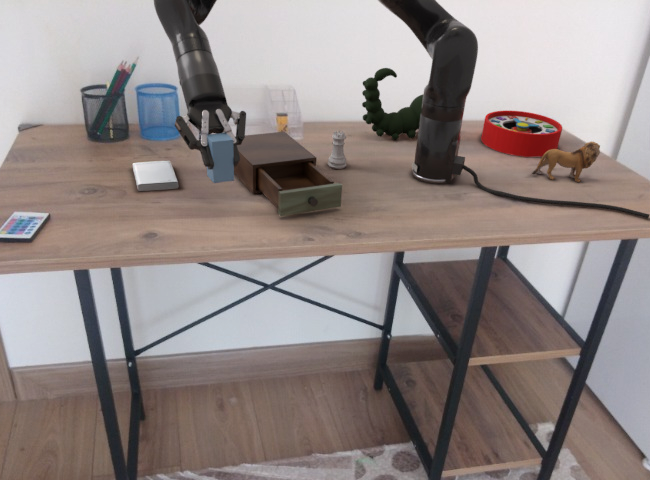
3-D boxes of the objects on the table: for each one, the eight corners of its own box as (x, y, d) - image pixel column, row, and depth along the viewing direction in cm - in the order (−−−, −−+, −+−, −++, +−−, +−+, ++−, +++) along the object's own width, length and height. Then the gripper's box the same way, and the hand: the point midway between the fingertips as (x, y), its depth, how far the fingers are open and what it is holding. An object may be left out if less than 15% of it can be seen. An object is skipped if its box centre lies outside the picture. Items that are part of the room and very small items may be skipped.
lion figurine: (587, 174, 156) (597, 138, 152) (595, 183, 152) (606, 146, 147) (527, 172, 155) (536, 135, 151) (534, 180, 151) (543, 143, 146)
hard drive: (178, 181, 134) (170, 159, 144) (137, 184, 131) (131, 162, 141) (178, 188, 135) (170, 166, 144) (138, 192, 132) (132, 169, 142)
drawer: (343, 208, 129) (345, 187, 127) (282, 218, 124) (283, 196, 121) (306, 176, 142) (307, 156, 140) (250, 184, 137) (250, 163, 134)
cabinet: (315, 185, 141) (316, 157, 137) (253, 194, 135) (252, 165, 131) (283, 157, 153) (284, 131, 150) (225, 164, 147) (224, 137, 144)
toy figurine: (369, 150, 166) (459, 139, 171) (369, 75, 156) (465, 65, 160) (359, 137, 174) (445, 127, 179) (358, 65, 163) (450, 56, 168)
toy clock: (500, 134, 160) (475, 109, 176) (495, 156, 163) (471, 130, 180) (575, 135, 163) (544, 111, 179) (569, 157, 166) (539, 131, 183)
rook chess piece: (344, 170, 149) (347, 136, 145) (325, 168, 149) (327, 134, 145) (348, 163, 153) (350, 130, 148) (329, 161, 153) (331, 128, 149)
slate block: (234, 180, 122) (233, 139, 118) (213, 183, 120) (212, 141, 116) (227, 173, 125) (226, 132, 121) (207, 175, 123) (205, 134, 119)
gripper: (165, 73, 115) (189, 162, 113) (241, 69, 121) (264, 153, 119) (160, 95, 122) (182, 179, 120) (232, 90, 128) (254, 170, 126)
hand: (223, 166), depth 119 cm, fingers closed on slate block, 4 cm apart
